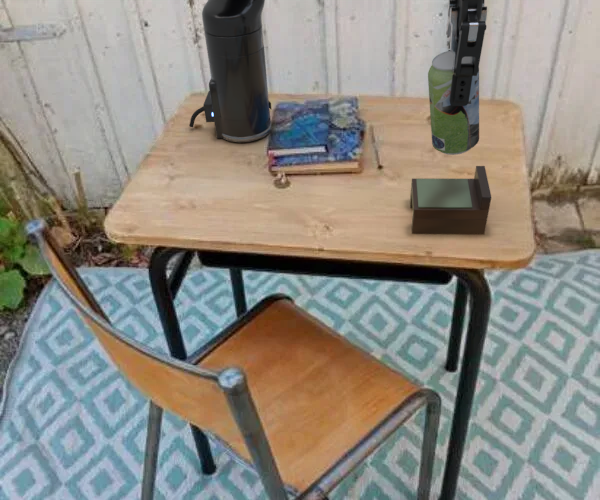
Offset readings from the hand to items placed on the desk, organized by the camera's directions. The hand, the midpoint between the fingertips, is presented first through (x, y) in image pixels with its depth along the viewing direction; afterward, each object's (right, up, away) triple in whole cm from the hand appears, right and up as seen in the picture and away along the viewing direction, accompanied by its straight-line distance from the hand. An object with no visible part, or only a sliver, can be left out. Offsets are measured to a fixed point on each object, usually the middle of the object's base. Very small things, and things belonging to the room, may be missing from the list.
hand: (456, 92), depth 80 cm
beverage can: (0, -5, +6) cm, 8 cm away
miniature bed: (+2, -13, +13) cm, 18 cm away
